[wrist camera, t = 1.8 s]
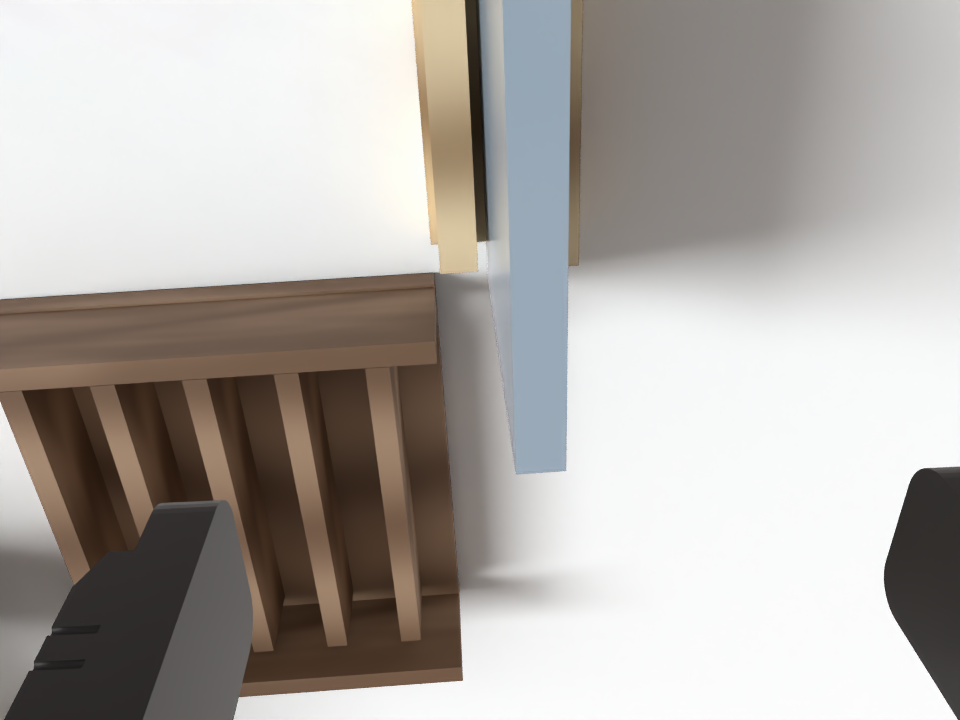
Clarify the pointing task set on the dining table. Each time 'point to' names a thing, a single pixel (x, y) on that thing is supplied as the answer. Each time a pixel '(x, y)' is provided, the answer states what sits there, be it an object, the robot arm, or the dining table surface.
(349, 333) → the rack
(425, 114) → the plate stand
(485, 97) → the plate
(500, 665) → the dining table surface
